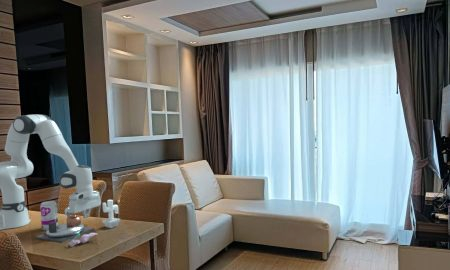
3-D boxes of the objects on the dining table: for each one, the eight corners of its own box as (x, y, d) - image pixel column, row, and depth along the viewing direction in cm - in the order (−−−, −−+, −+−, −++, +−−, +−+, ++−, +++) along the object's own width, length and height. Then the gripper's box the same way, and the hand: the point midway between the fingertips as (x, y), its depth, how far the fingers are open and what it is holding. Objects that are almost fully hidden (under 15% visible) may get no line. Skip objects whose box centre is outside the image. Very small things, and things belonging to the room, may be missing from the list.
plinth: (35, 238, 172) (35, 236, 172) (68, 226, 190) (68, 225, 190) (62, 242, 163) (62, 240, 163) (94, 229, 181) (94, 228, 181)
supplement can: (51, 230, 184) (49, 204, 184) (38, 230, 186) (36, 204, 186) (61, 226, 192) (59, 200, 192) (48, 226, 194) (47, 200, 194)
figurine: (122, 224, 188) (121, 198, 188) (108, 229, 181) (107, 202, 180) (114, 223, 192) (112, 197, 192) (100, 227, 185) (98, 201, 184)
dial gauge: (62, 227, 185) (61, 208, 185) (70, 224, 190) (69, 206, 190) (68, 228, 183) (67, 209, 183) (76, 225, 188) (75, 206, 188)
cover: (64, 226, 180) (63, 216, 180) (74, 222, 186) (74, 213, 186) (73, 227, 177) (72, 217, 177) (83, 223, 183) (83, 214, 183)
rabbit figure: (69, 252, 153) (100, 238, 163) (66, 240, 152) (97, 227, 162) (65, 248, 158) (95, 235, 168) (62, 237, 157) (93, 224, 167)
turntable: (38, 235, 172) (37, 222, 172) (68, 225, 188) (67, 213, 188) (62, 238, 165) (61, 224, 164) (91, 227, 181) (90, 215, 181)
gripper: (95, 189, 200) (96, 212, 200) (66, 196, 181) (67, 221, 182) (102, 190, 197) (104, 213, 197) (74, 197, 179) (75, 222, 179)
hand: (86, 217), depth 189 cm, fingers closed
